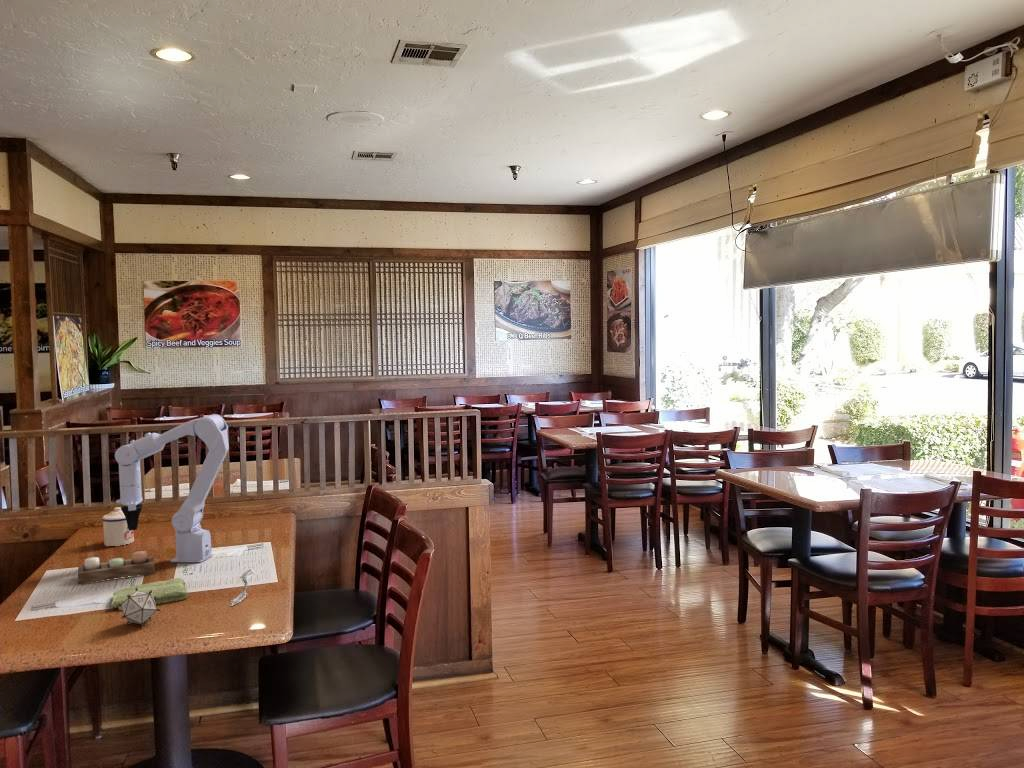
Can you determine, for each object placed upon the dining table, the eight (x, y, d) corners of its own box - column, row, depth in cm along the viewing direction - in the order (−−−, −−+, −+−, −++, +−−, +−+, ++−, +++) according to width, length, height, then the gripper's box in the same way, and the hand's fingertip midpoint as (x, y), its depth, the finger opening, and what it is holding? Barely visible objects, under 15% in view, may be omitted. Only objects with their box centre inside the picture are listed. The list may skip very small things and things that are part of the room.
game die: (135, 637, 186) (129, 597, 191) (169, 623, 187) (162, 584, 191) (114, 632, 178) (108, 590, 183) (149, 617, 179) (143, 576, 183)
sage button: (123, 565, 225) (123, 557, 224) (123, 569, 221) (123, 560, 221) (109, 567, 223) (109, 559, 223) (109, 571, 220) (109, 562, 220)
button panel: (153, 566, 230) (152, 556, 230) (154, 573, 223) (154, 563, 223) (79, 576, 222) (78, 565, 221) (78, 584, 214) (77, 573, 214)
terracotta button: (146, 558, 227) (146, 550, 227) (147, 562, 224) (146, 553, 224) (132, 560, 226) (132, 552, 225) (133, 563, 222) (132, 555, 222)
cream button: (99, 565, 222) (99, 556, 222) (99, 568, 219) (99, 559, 218) (85, 567, 220) (84, 558, 220) (84, 570, 217) (84, 561, 217)
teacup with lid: (130, 546, 252) (128, 510, 251) (99, 548, 250) (97, 511, 249) (140, 536, 264) (138, 501, 263) (110, 538, 262) (108, 503, 261)
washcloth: (112, 598, 205) (111, 585, 204) (185, 587, 212) (184, 575, 212) (111, 614, 193) (110, 601, 193) (189, 602, 201) (188, 589, 201)
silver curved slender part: (227, 608, 195) (248, 606, 196) (227, 606, 195) (248, 604, 196) (237, 570, 226) (256, 569, 227) (237, 568, 226) (255, 566, 227)
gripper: (115, 481, 239) (117, 526, 240) (115, 490, 226) (118, 537, 227) (140, 479, 242) (143, 523, 243) (142, 487, 229) (145, 533, 230)
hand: (132, 529), depth 235 cm, fingers closed
